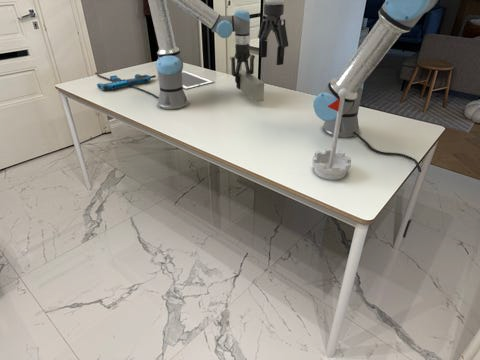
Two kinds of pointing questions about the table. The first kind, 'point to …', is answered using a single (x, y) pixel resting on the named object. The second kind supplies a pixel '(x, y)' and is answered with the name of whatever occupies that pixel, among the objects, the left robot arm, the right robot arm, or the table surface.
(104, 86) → the submachine gun
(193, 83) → the tablet
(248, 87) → the bar
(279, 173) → the table surface
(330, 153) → the flag stand
